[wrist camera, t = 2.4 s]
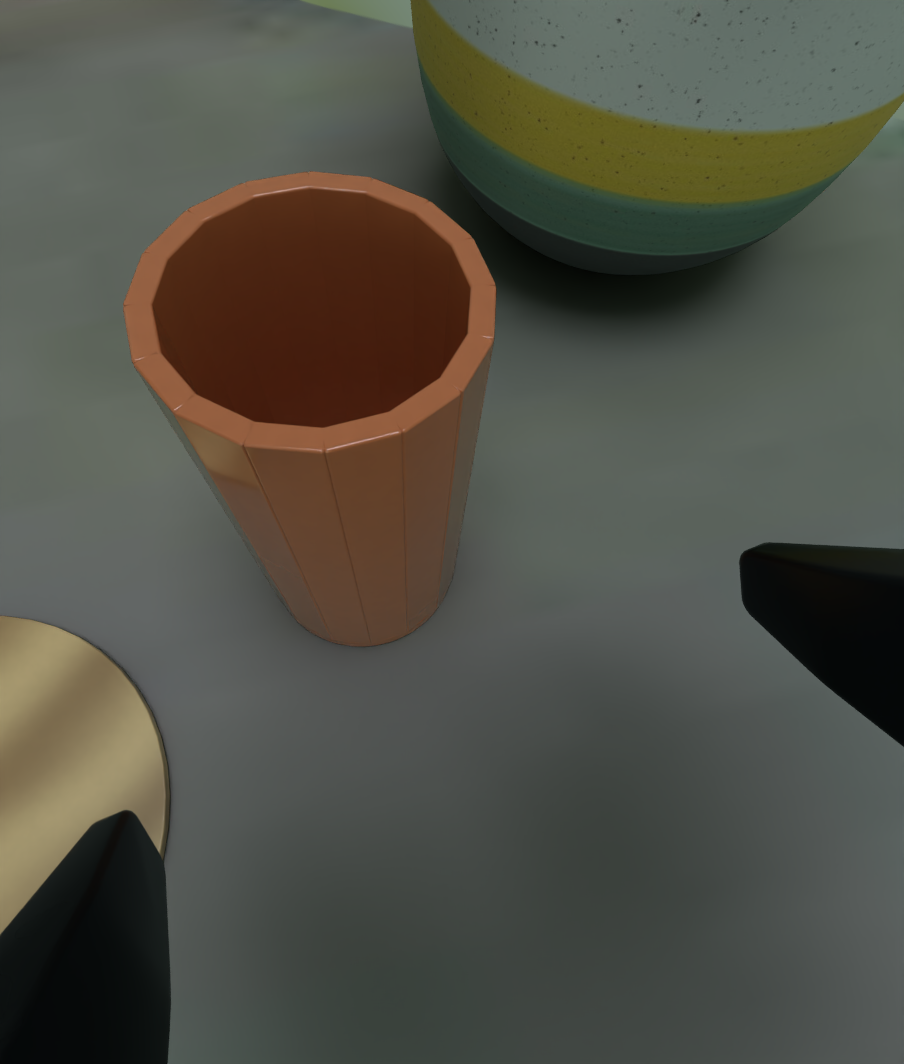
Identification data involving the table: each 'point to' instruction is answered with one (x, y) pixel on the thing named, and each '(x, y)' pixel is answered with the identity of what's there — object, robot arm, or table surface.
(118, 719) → the beige flat disc
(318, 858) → the table surface
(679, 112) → the planter
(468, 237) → the terracotta pot
